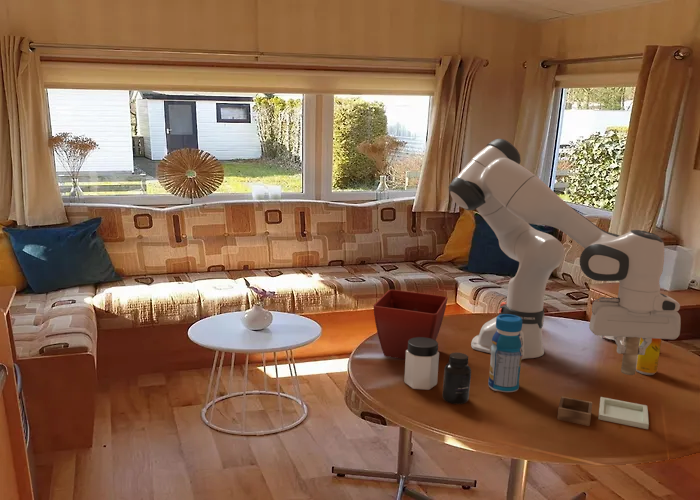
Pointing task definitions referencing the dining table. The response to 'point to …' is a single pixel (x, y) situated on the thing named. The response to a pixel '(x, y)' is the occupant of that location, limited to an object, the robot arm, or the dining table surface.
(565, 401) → the open square box
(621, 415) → the tray
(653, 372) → the beer can
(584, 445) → the dining table surface
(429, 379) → the jar
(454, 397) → the supplement bottle
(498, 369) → the beverage bottle
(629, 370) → the dowel
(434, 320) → the plant pot
